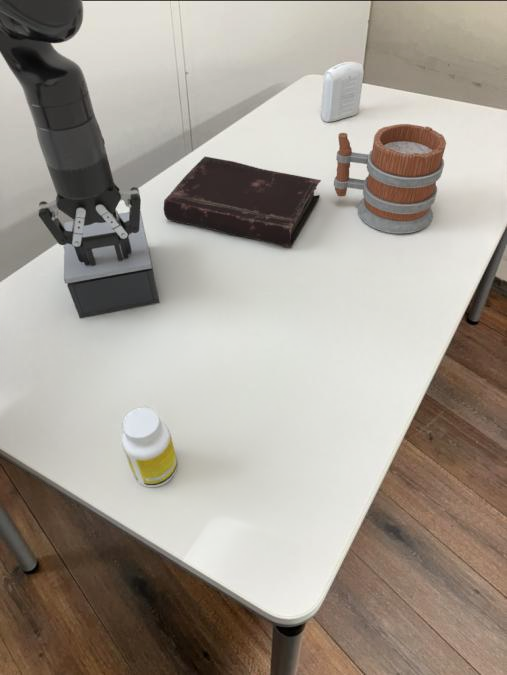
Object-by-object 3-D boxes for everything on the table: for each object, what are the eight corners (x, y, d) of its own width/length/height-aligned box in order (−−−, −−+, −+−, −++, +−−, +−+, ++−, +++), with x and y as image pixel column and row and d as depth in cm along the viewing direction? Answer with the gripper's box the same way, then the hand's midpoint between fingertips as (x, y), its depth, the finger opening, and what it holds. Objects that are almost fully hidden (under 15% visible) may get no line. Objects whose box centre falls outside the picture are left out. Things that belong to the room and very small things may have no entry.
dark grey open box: (159, 303, 82) (152, 270, 77) (79, 318, 80) (67, 285, 75) (148, 246, 92) (141, 214, 87) (77, 258, 90) (66, 226, 85)
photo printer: (350, 108, 131) (356, 56, 122) (361, 114, 128) (368, 61, 119) (317, 118, 127) (321, 65, 118) (328, 124, 125) (332, 70, 115)
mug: (428, 241, 92) (450, 163, 81) (323, 224, 96) (330, 148, 85) (435, 200, 101) (455, 125, 90) (338, 186, 105) (346, 113, 94)
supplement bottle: (186, 460, 63) (176, 414, 55) (159, 496, 59) (144, 452, 52) (152, 441, 64) (137, 394, 57) (123, 475, 61) (104, 430, 54)
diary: (289, 252, 90) (290, 228, 87) (165, 223, 97) (161, 200, 94) (320, 198, 102) (322, 175, 98) (208, 176, 109) (206, 154, 105)
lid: (152, 268, 76) (145, 237, 72) (65, 283, 74) (53, 252, 70) (141, 214, 87) (135, 184, 84) (65, 226, 85) (56, 197, 82)
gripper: (14, 176, 61) (58, 283, 73) (135, 158, 63) (157, 265, 75) (17, 146, 65) (58, 251, 78) (129, 130, 68) (151, 235, 80)
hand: (106, 257), depth 77 cm, fingers closed on lid, 5 cm apart
